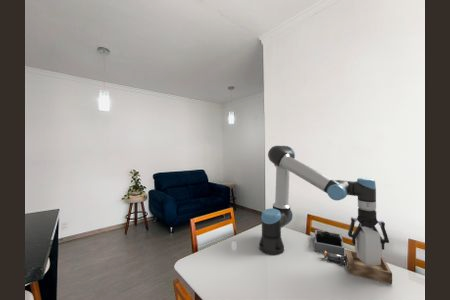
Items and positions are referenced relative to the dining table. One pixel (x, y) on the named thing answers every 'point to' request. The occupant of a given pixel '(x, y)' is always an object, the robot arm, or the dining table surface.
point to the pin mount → (337, 260)
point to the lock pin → (333, 256)
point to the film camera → (328, 239)
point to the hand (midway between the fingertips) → (367, 253)
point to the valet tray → (329, 248)
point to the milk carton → (369, 246)
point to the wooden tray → (367, 268)
